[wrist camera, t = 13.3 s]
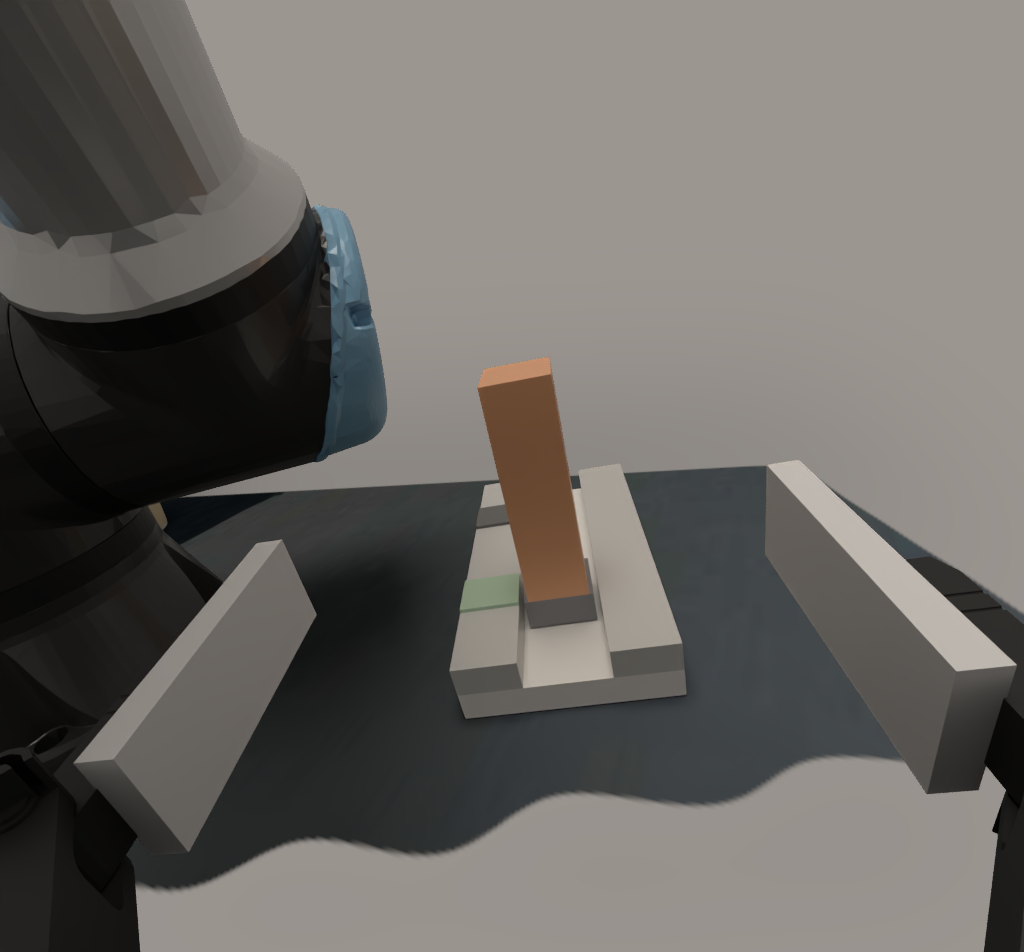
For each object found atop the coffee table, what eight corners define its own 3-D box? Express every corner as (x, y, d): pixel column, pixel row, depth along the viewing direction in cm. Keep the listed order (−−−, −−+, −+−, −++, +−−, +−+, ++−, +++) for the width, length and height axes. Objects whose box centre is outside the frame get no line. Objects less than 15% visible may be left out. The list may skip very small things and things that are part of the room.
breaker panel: (686, 694, 23) (681, 639, 22) (465, 718, 24) (448, 667, 23) (624, 499, 39) (619, 461, 38) (493, 519, 40) (484, 483, 39)
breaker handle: (597, 619, 26) (556, 372, 21) (530, 627, 26) (472, 388, 21) (591, 582, 29) (553, 355, 23) (530, 590, 29) (479, 369, 24)
